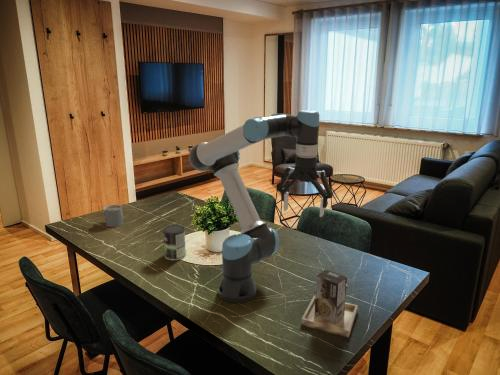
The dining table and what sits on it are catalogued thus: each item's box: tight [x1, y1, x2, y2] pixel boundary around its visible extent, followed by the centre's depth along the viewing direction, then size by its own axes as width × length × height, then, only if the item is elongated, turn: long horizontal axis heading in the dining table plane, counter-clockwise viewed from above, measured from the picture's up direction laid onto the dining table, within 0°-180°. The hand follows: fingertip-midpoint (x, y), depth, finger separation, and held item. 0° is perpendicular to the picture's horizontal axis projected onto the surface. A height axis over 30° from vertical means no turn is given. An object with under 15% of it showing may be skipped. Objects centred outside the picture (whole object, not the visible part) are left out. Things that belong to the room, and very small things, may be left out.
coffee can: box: [162, 224, 187, 261], centre depth 187 cm, size 10×10×14 cm
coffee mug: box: [103, 204, 124, 228], centre depth 228 cm, size 13×10×10 cm
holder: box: [300, 294, 359, 339], centre depth 141 cm, size 17×17×2 cm
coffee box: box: [315, 269, 348, 324], centre depth 139 cm, size 9×6×16 cm
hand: (303, 212), depth 142 cm, fingers open, 13 cm apart
